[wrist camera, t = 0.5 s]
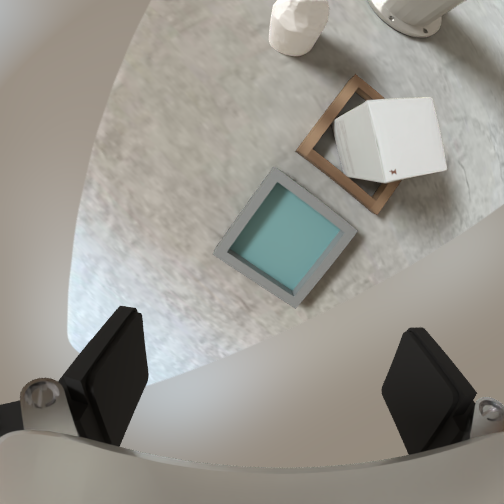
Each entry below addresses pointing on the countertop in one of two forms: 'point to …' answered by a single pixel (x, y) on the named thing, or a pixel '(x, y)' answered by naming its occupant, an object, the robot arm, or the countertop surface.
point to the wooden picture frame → (330, 170)
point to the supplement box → (390, 140)
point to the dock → (284, 239)
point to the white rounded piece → (297, 25)
